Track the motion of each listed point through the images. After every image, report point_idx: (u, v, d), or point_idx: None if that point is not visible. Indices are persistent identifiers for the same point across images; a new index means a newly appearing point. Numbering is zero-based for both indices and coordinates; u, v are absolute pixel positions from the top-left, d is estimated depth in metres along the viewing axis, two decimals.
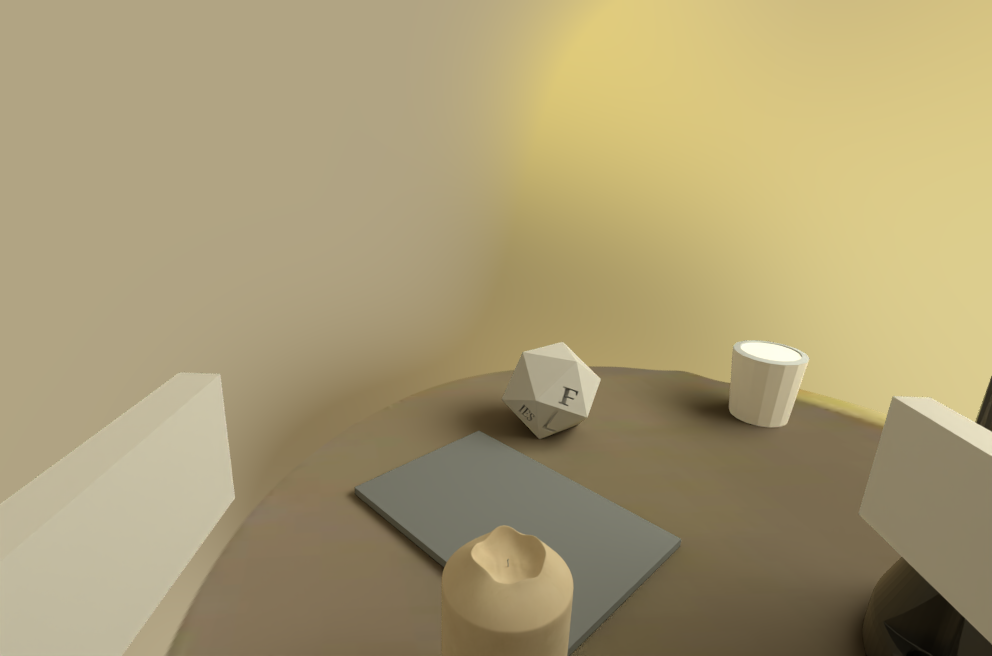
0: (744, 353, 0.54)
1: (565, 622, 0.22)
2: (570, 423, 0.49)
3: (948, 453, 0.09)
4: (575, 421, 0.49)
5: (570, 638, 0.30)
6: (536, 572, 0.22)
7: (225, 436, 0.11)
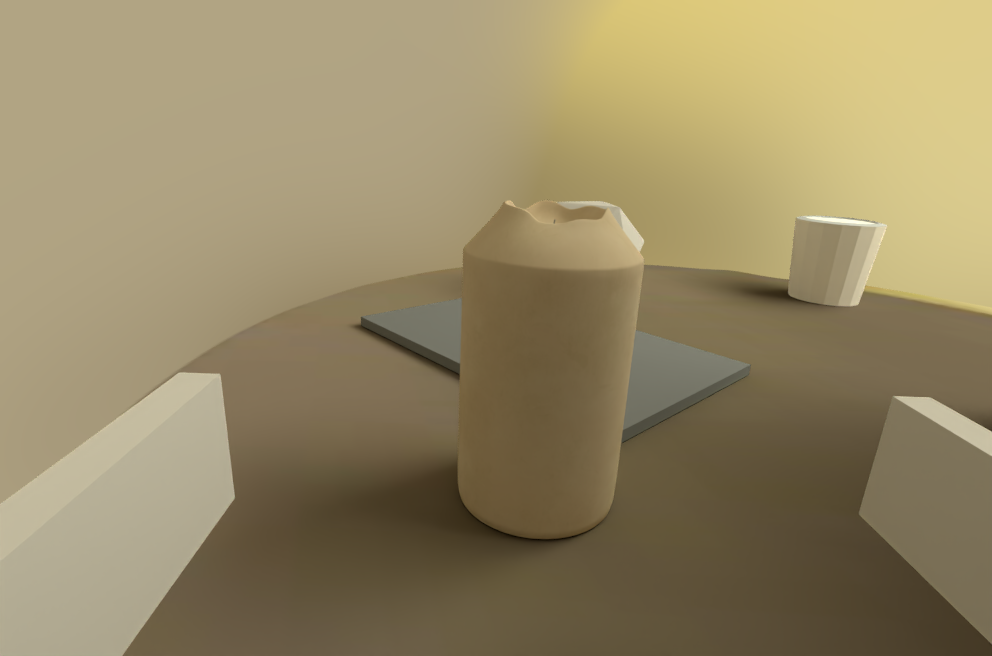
0: (810, 219, 0.47)
1: (634, 291, 0.16)
2: None
3: (948, 453, 0.09)
4: None
5: None
6: None
7: (225, 436, 0.11)
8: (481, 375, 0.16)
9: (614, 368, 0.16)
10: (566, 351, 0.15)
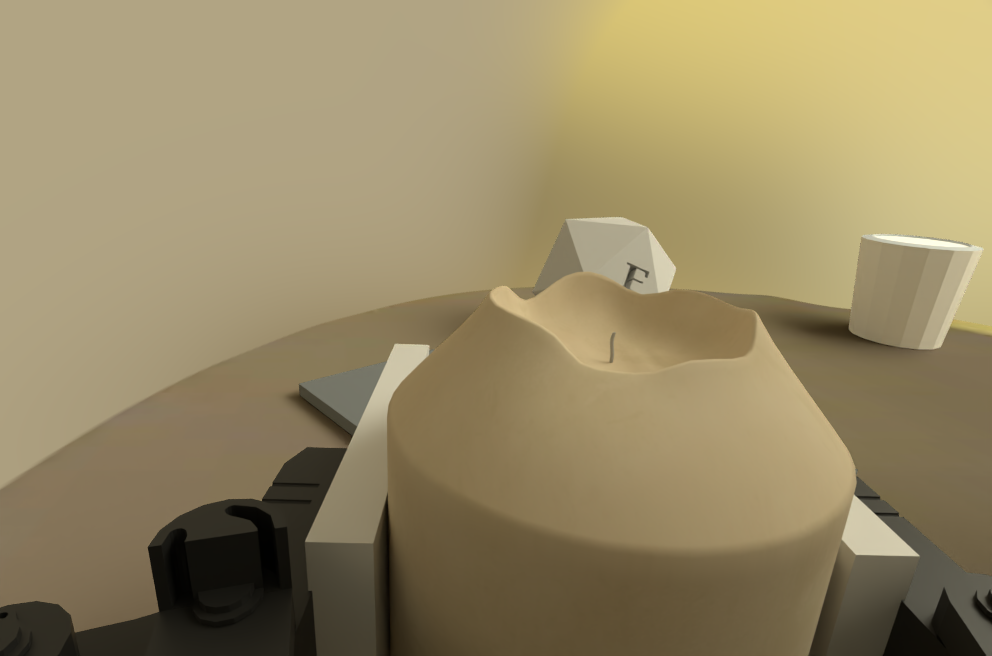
0: (884, 240, 0.37)
1: None
2: None
3: None
4: None
5: None
6: None
7: None
8: None
9: None
10: None
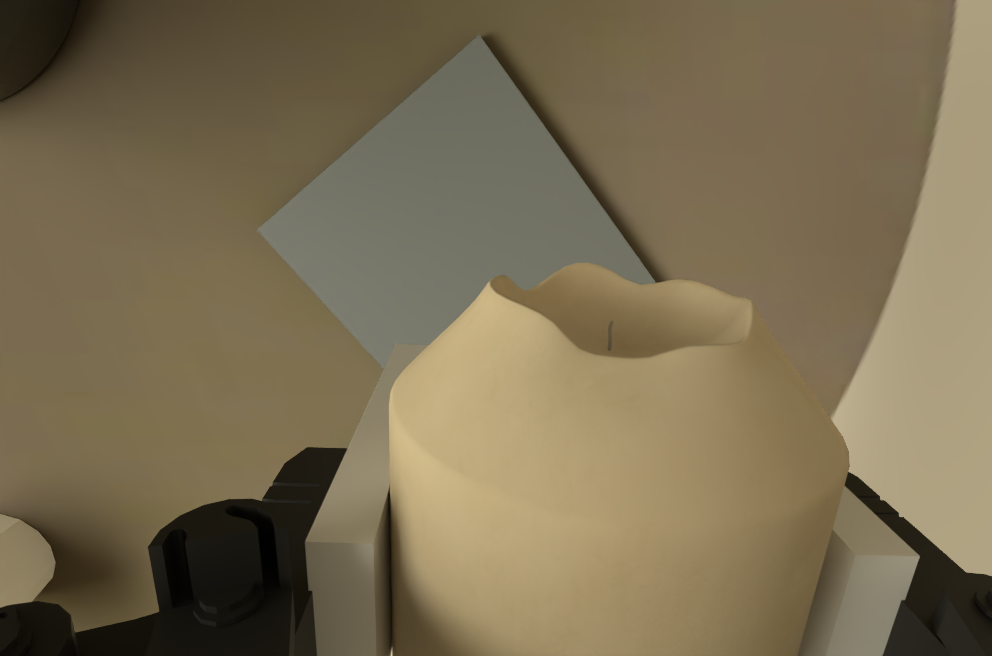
0: None
1: None
2: None
3: None
4: None
5: (461, 59, 0.23)
6: None
7: None
8: None
9: None
10: None
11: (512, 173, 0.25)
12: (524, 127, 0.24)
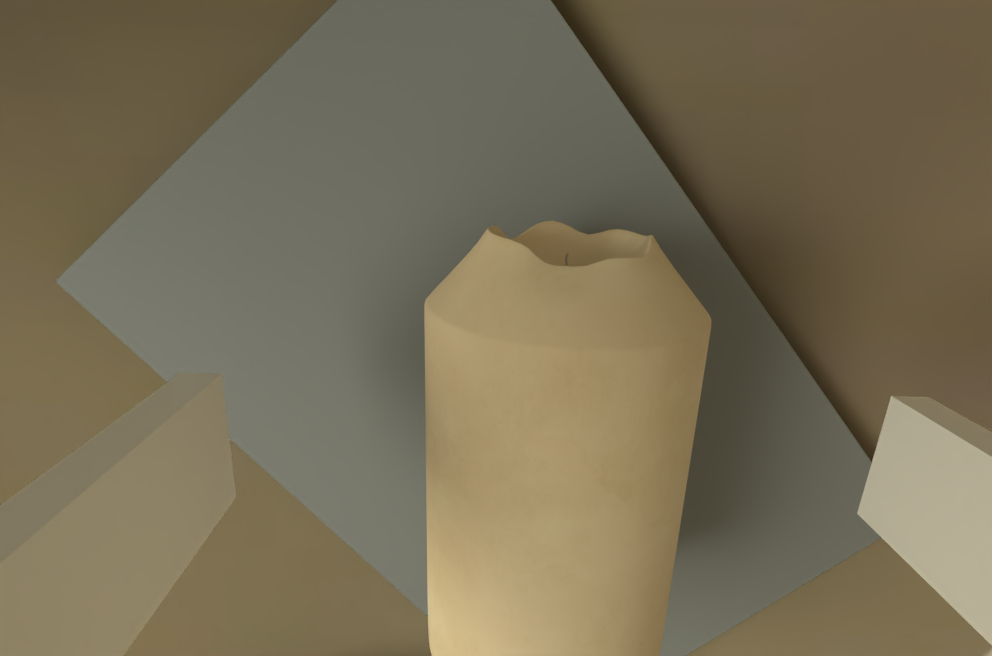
0: None
1: (701, 369, 0.10)
2: None
3: (947, 452, 0.09)
4: None
5: None
6: None
7: (226, 436, 0.11)
8: (458, 508, 0.10)
9: (671, 492, 0.10)
10: (598, 479, 0.09)
11: (535, 163, 0.13)
12: (558, 71, 0.12)
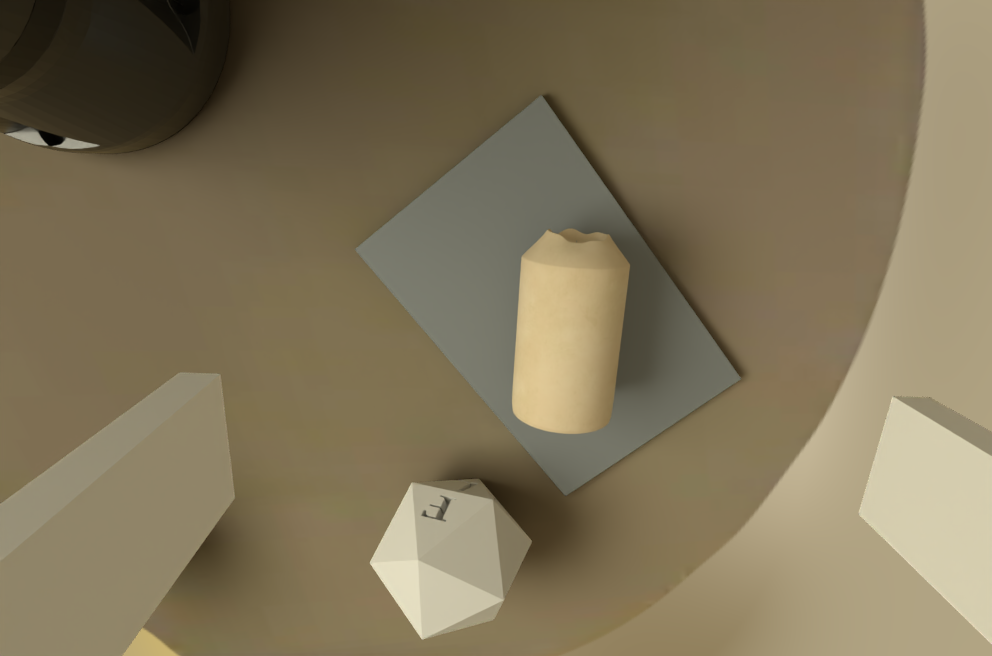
0: None
1: (624, 282, 0.27)
2: (436, 481, 0.33)
3: (948, 453, 0.09)
4: (429, 482, 0.33)
5: (527, 114, 0.29)
6: None
7: (225, 436, 0.11)
8: (533, 332, 0.27)
9: (612, 327, 0.27)
10: (585, 316, 0.26)
11: (565, 204, 0.30)
12: (575, 167, 0.30)
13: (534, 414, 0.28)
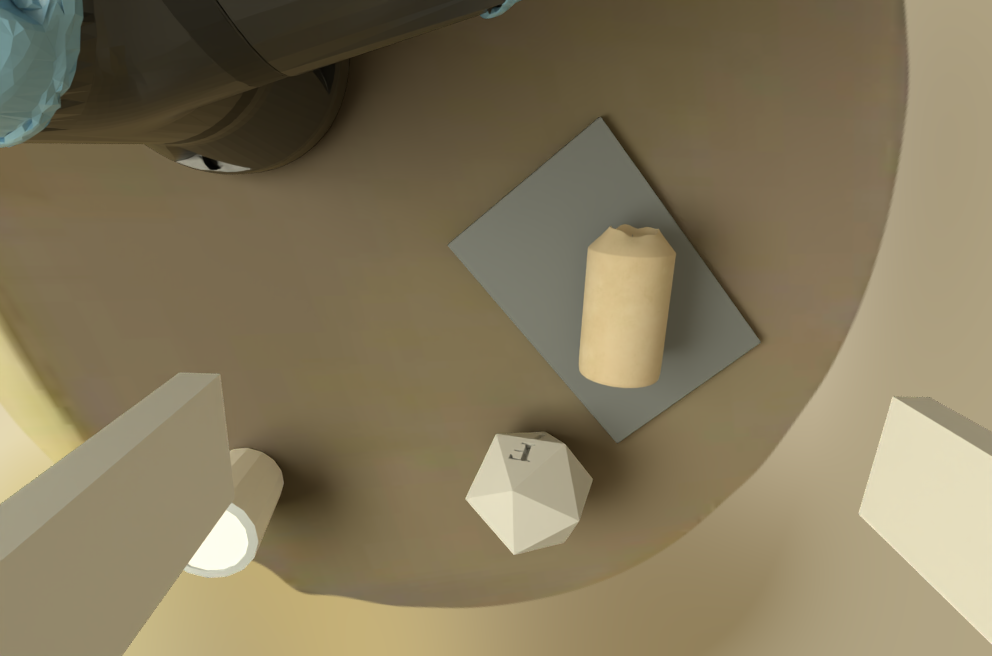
0: (250, 530, 0.37)
1: (672, 267, 0.34)
2: (514, 433, 0.41)
3: (948, 452, 0.09)
4: (509, 433, 0.40)
5: (588, 132, 0.36)
6: None
7: (225, 436, 0.11)
8: (601, 308, 0.35)
9: (663, 303, 0.34)
10: (643, 294, 0.33)
11: (618, 204, 0.37)
12: (627, 174, 0.37)
13: (601, 373, 0.36)
